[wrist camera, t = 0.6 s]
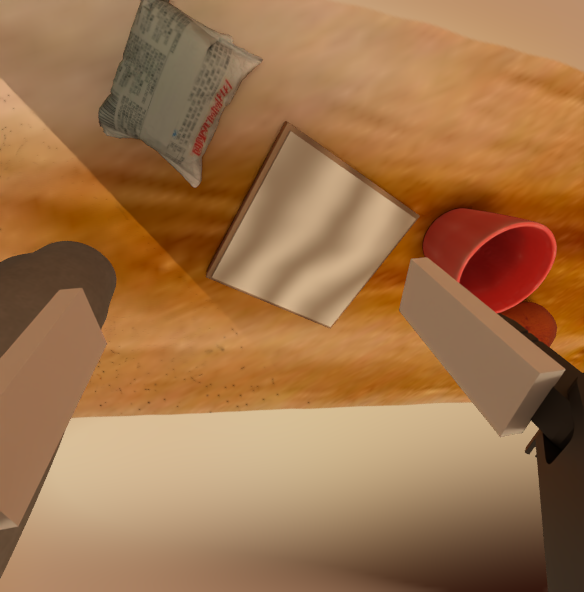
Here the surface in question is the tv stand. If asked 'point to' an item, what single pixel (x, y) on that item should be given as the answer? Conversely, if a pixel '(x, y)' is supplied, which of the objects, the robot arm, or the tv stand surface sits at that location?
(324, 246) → the stand
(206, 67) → the packaged food
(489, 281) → the flower pot
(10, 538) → the vase
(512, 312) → the fruit
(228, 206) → the tv stand surface
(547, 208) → the tv stand surface
